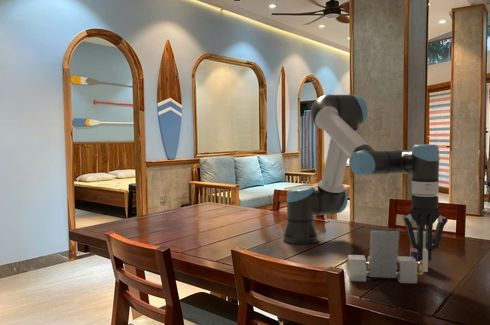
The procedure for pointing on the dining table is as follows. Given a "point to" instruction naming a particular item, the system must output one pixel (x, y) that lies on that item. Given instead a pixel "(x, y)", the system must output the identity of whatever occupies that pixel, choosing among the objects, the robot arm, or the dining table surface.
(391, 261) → the leaf loose
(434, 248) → the robot arm
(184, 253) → the dining table surface
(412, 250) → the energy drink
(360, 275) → the hinge knuckle blocks
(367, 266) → the pin
